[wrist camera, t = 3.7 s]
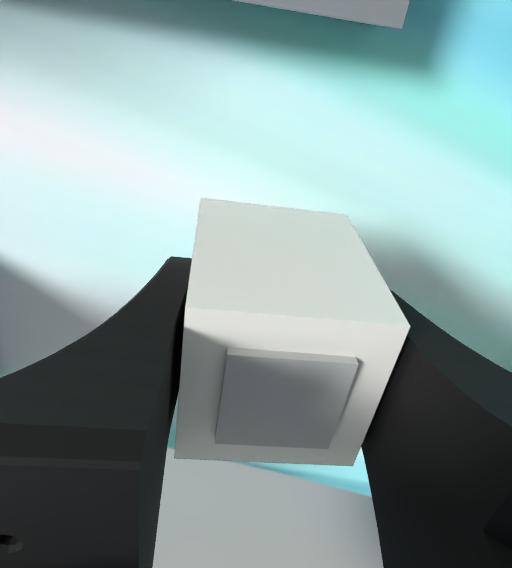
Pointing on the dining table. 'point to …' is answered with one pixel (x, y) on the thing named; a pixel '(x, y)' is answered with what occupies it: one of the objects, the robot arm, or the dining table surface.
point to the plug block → (282, 337)
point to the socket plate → (346, 9)
